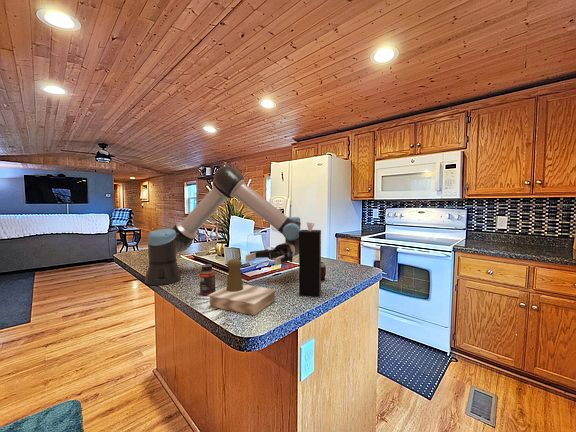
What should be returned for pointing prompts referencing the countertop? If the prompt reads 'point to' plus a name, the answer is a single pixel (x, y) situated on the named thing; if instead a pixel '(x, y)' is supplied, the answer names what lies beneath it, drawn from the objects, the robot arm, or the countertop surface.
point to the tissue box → (310, 261)
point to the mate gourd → (323, 271)
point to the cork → (234, 276)
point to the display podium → (243, 299)
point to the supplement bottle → (207, 280)
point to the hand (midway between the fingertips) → (260, 260)
